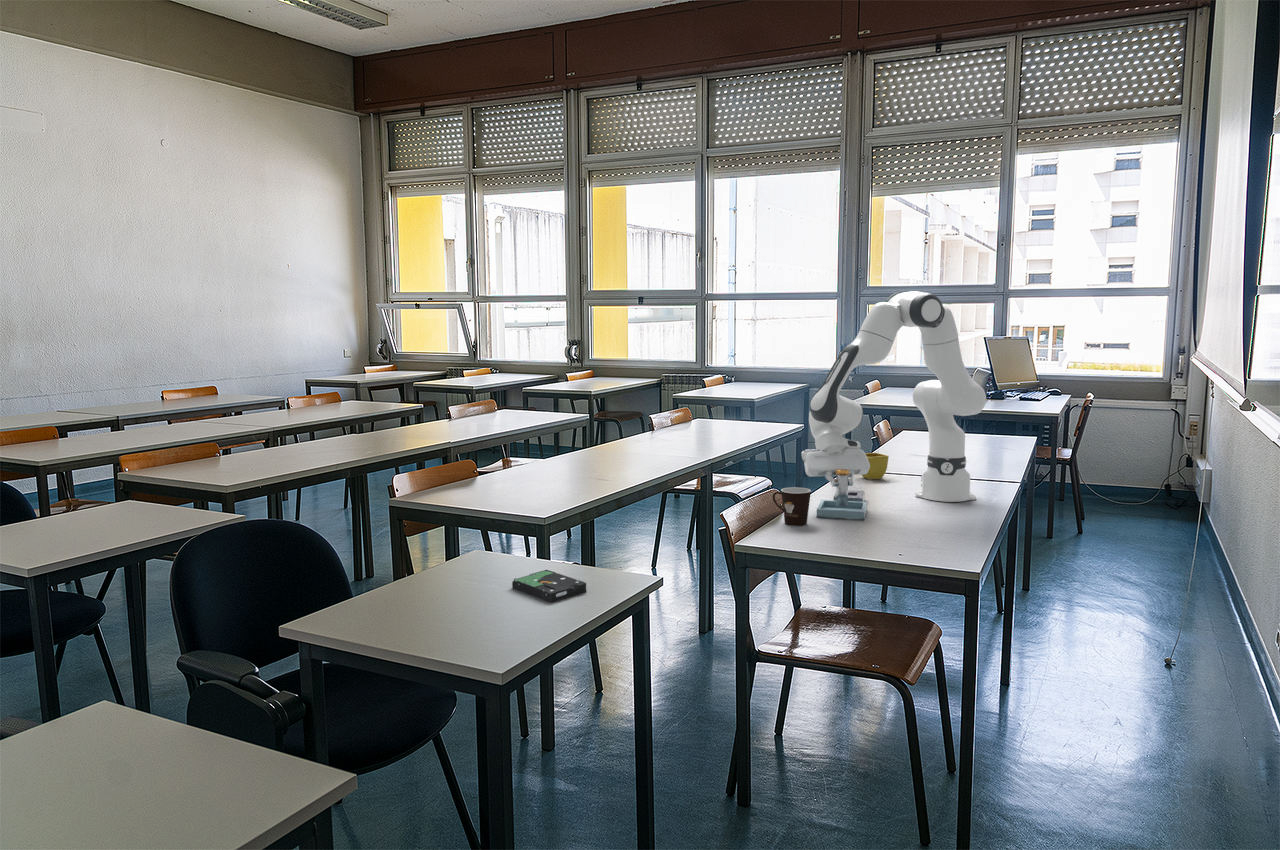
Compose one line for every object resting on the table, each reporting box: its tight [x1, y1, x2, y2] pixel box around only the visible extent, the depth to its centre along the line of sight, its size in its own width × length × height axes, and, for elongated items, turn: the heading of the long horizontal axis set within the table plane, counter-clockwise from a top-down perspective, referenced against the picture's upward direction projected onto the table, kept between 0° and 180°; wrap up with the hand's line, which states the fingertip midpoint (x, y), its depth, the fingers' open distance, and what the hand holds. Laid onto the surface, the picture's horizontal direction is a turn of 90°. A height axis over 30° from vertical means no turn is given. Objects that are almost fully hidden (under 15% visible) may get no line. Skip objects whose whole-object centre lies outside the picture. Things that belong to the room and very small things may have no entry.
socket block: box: [833, 489, 866, 502], centre depth 276 cm, size 12×9×3 cm
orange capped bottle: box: [835, 469, 849, 507], centre depth 260 cm, size 4×4×11 cm
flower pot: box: [861, 452, 889, 480], centre depth 317 cm, size 9×9×9 cm
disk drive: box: [511, 569, 587, 604], centre depth 192 cm, size 10×3×15 cm
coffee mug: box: [772, 487, 812, 527], centre depth 251 cm, size 12×9×10 cm
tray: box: [816, 499, 868, 520], centre depth 261 cm, size 14×14×2 cm
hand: (843, 485), depth 260 cm, fingers closed on orange capped bottle, 4 cm apart
